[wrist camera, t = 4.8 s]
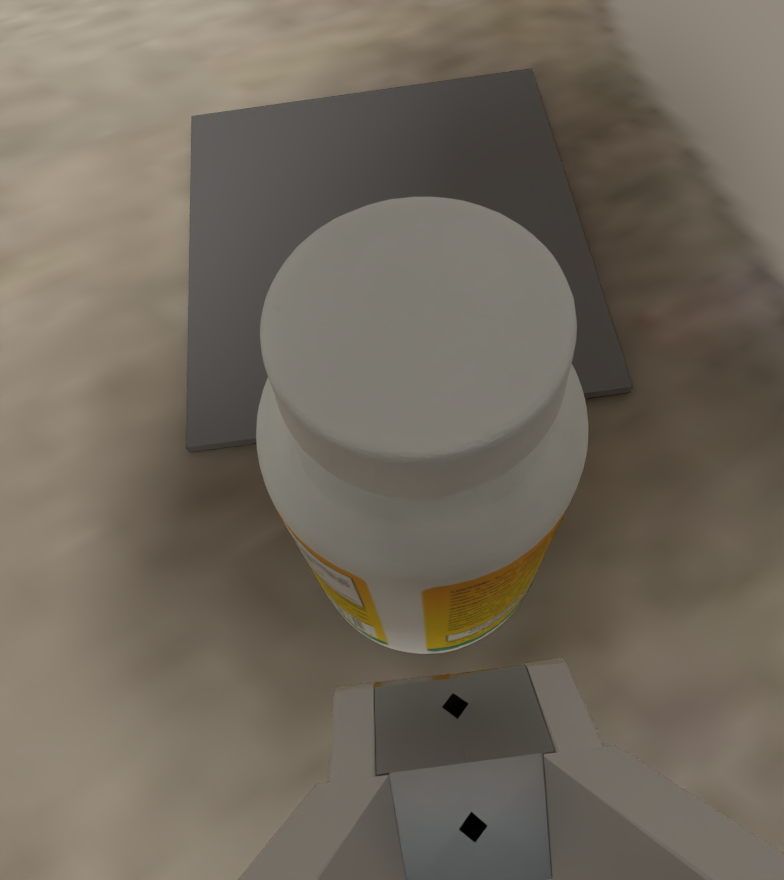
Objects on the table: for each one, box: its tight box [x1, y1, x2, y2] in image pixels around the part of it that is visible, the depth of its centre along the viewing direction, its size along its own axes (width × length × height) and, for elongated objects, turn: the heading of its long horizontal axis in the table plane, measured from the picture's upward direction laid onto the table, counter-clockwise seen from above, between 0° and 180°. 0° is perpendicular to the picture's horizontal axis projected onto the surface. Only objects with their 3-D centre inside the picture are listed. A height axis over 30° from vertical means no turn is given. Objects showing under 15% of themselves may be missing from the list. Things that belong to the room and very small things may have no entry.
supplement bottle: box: [256, 197, 588, 654], centre depth 13 cm, size 5×5×10 cm
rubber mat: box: [186, 69, 633, 452], centre depth 22 cm, size 12×13×1 cm
